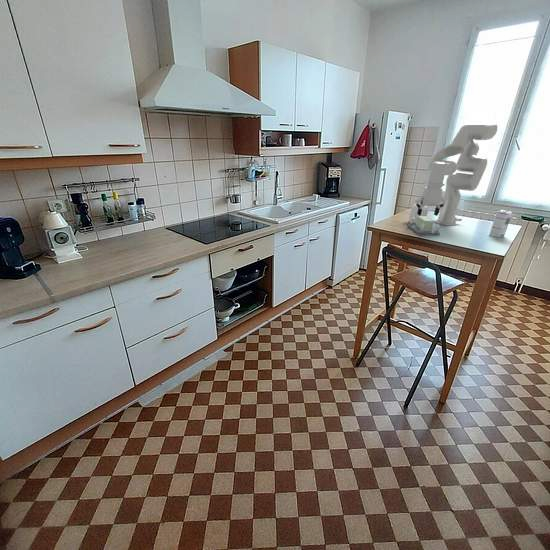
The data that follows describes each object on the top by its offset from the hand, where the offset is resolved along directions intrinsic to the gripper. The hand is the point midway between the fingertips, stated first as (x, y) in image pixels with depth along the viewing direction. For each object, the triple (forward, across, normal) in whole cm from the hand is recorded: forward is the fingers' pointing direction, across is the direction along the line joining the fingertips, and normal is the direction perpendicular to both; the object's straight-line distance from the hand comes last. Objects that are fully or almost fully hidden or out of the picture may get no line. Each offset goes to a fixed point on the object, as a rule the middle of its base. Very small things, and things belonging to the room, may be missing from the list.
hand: (427, 215), depth 173 cm
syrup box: (+11, -40, +5) cm, 42 cm away
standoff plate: (+10, +1, +1) cm, 10 cm away
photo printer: (+10, -2, -16) cm, 19 cm away
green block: (+8, +1, +1) cm, 8 cm away
